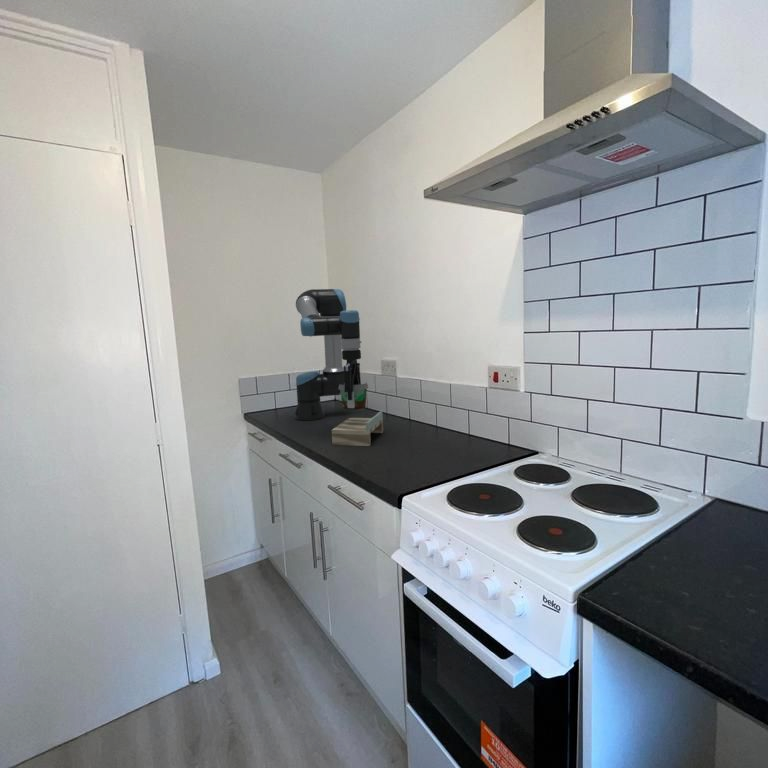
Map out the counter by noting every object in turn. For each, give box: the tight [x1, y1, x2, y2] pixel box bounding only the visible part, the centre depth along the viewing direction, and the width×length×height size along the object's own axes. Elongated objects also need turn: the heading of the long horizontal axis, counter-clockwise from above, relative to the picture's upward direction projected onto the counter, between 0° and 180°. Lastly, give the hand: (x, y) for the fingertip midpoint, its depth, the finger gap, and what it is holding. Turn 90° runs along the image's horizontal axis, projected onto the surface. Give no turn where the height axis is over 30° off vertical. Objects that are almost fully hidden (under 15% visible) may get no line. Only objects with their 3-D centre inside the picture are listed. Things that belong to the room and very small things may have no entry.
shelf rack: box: [331, 410, 384, 447], centre depth 171 cm, size 22×15×9 cm
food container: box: [338, 382, 369, 410], centre depth 169 cm, size 12×6×10 cm, turn 92°
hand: (354, 406), depth 170 cm, fingers closed on food container, 7 cm apart
